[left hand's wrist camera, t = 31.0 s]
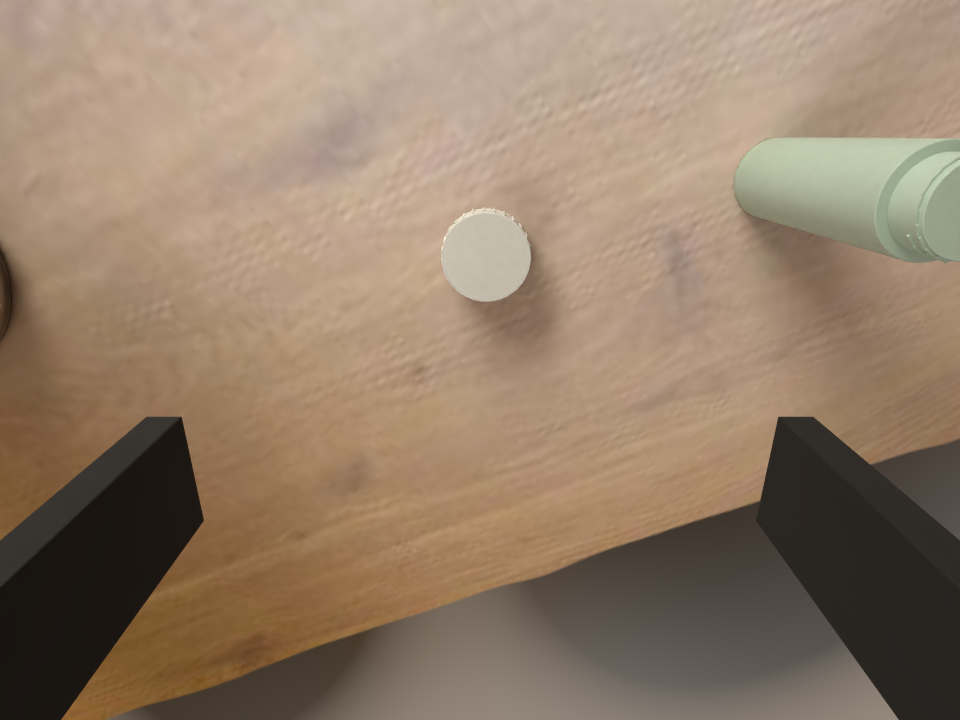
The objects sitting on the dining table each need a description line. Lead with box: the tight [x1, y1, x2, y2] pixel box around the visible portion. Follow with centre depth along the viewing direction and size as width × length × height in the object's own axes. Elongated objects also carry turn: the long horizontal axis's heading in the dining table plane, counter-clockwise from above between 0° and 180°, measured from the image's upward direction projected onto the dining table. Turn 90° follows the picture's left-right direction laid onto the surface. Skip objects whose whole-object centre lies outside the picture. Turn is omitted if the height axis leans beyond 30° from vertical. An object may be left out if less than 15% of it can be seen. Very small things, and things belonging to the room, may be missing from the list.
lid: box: [441, 207, 532, 302], centre depth 36 cm, size 6×6×2 cm
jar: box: [734, 137, 960, 263], centre depth 28 cm, size 5×5×16 cm
